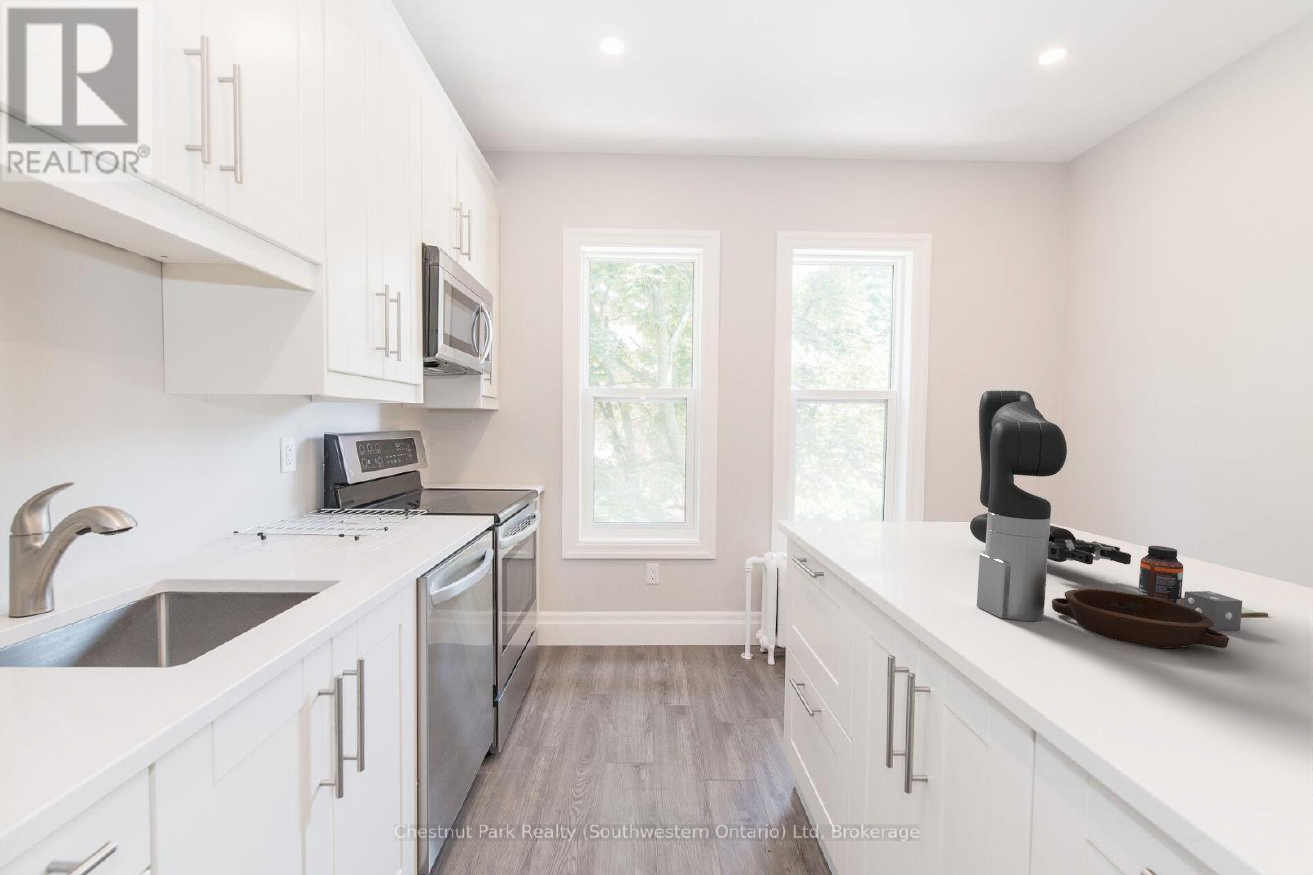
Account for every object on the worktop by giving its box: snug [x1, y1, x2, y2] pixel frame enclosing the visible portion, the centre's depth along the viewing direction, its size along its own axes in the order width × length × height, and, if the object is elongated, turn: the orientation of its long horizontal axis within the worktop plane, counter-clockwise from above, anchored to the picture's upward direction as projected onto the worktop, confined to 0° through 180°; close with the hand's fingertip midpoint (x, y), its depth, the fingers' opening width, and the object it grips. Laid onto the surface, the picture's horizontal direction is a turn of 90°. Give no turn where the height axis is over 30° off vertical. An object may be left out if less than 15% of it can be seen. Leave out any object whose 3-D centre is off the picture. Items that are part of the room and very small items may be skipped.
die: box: [1183, 590, 1243, 632], centre depth 98 cm, size 5×5×5 cm
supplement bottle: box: [1137, 545, 1184, 605], centre depth 105 cm, size 6×6×11 cm
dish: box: [1051, 587, 1230, 649], centre depth 93 cm, size 18×22×5 cm
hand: (1110, 559), depth 115 cm, fingers open, 8 cm apart
